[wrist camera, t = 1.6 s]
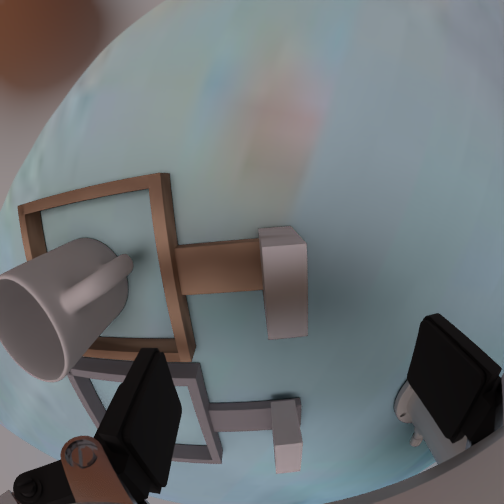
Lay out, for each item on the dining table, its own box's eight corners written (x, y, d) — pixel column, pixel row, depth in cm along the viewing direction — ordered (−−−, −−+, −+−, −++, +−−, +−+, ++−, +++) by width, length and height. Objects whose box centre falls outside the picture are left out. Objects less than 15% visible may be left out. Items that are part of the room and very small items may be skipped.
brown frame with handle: (300, 339, 25) (315, 389, 18) (67, 341, 25) (35, 376, 18) (293, 161, 21) (314, 152, 14) (32, 203, 21) (-16, 213, 14)
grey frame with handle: (297, 445, 30) (304, 487, 23) (117, 439, 30) (103, 474, 23) (300, 356, 26) (314, 407, 19) (73, 356, 26) (43, 391, 19)
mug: (88, 329, 25) (33, 390, 14) (48, 260, 23) (-24, 298, 12) (175, 287, 24) (129, 360, 13) (129, 201, 22) (48, 222, 11)
